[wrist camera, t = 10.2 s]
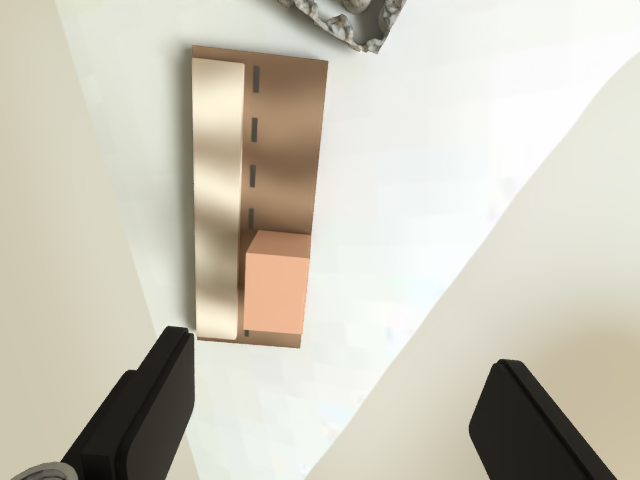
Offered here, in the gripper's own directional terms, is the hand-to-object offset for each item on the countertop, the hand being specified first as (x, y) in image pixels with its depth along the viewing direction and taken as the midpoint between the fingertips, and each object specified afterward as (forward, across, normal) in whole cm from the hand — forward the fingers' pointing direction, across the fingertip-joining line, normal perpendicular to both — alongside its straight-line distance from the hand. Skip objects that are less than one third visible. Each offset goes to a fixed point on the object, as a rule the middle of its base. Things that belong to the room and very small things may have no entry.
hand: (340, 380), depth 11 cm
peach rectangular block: (+22, +3, +7) cm, 23 cm away
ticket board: (+24, +6, +3) cm, 25 cm away
